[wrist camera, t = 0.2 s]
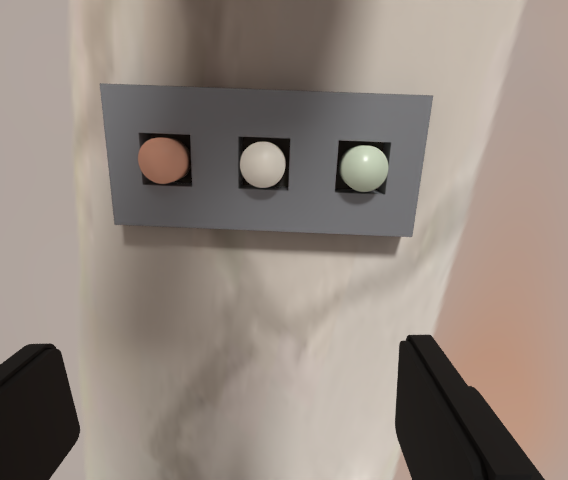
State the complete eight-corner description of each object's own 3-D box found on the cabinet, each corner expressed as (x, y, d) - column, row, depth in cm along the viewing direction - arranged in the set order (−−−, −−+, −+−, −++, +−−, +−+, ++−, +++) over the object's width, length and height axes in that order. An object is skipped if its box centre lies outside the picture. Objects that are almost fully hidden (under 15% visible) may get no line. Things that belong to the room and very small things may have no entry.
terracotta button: (148, 137, 36) (136, 136, 33) (190, 138, 36) (181, 138, 33) (151, 179, 37) (139, 182, 34) (192, 181, 37) (183, 184, 34)
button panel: (115, 88, 36) (99, 83, 33) (421, 99, 35) (433, 95, 32) (127, 218, 40) (114, 224, 37) (403, 230, 39) (412, 237, 36)
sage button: (340, 144, 35) (344, 144, 32) (383, 146, 35) (391, 146, 32) (337, 187, 37) (340, 191, 34) (378, 188, 36) (385, 192, 34)
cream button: (244, 140, 35) (239, 140, 33) (286, 142, 35) (285, 142, 32) (244, 183, 37) (239, 187, 34) (284, 184, 37) (284, 188, 34)
